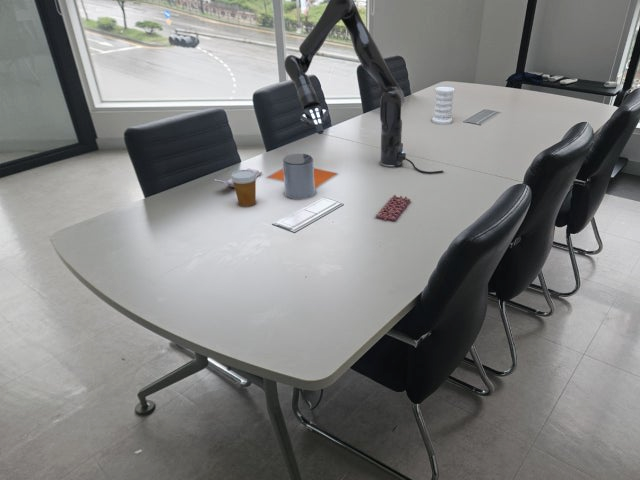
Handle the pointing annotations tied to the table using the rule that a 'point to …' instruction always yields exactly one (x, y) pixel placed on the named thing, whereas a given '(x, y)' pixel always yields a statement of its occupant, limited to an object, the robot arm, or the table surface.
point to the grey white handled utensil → (232, 181)
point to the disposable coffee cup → (245, 186)
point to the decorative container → (443, 105)
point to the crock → (298, 176)
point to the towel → (319, 176)
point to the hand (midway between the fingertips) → (321, 133)
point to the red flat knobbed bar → (393, 208)
